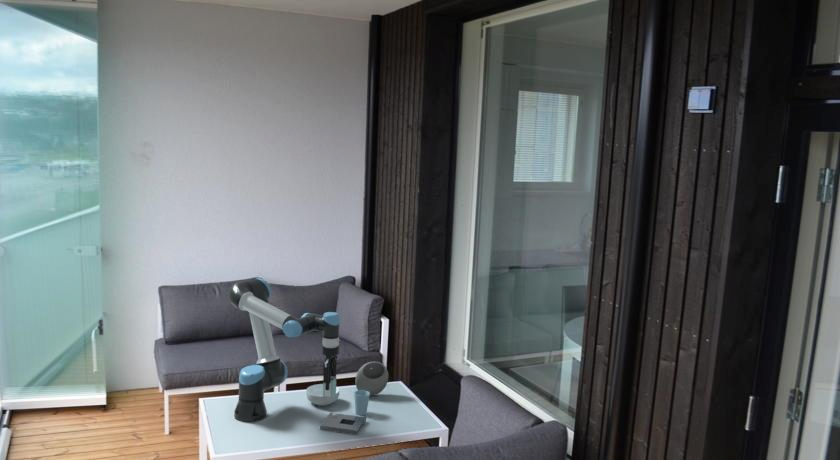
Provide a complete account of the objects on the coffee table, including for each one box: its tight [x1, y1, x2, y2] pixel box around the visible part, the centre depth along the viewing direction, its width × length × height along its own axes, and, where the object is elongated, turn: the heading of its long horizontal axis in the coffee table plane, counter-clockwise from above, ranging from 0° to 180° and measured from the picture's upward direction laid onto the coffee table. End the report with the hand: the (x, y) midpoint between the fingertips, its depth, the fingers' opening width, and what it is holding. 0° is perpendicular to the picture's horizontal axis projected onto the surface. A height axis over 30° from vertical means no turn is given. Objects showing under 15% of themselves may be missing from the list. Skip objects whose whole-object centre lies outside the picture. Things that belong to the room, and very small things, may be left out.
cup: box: [353, 390, 371, 416], centre depth 347 cm, size 8×8×10 cm
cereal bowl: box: [305, 383, 340, 407], centre depth 357 cm, size 17×17×7 cm
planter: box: [354, 361, 389, 397], centre depth 370 cm, size 18×7×19 cm, turn 115°
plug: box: [322, 375, 337, 398], centre depth 328 cm, size 5×4×9 cm
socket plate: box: [319, 412, 367, 436], centre depth 332 cm, size 18×16×3 cm
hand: (329, 394), depth 328 cm, fingers closed on plug, 4 cm apart
